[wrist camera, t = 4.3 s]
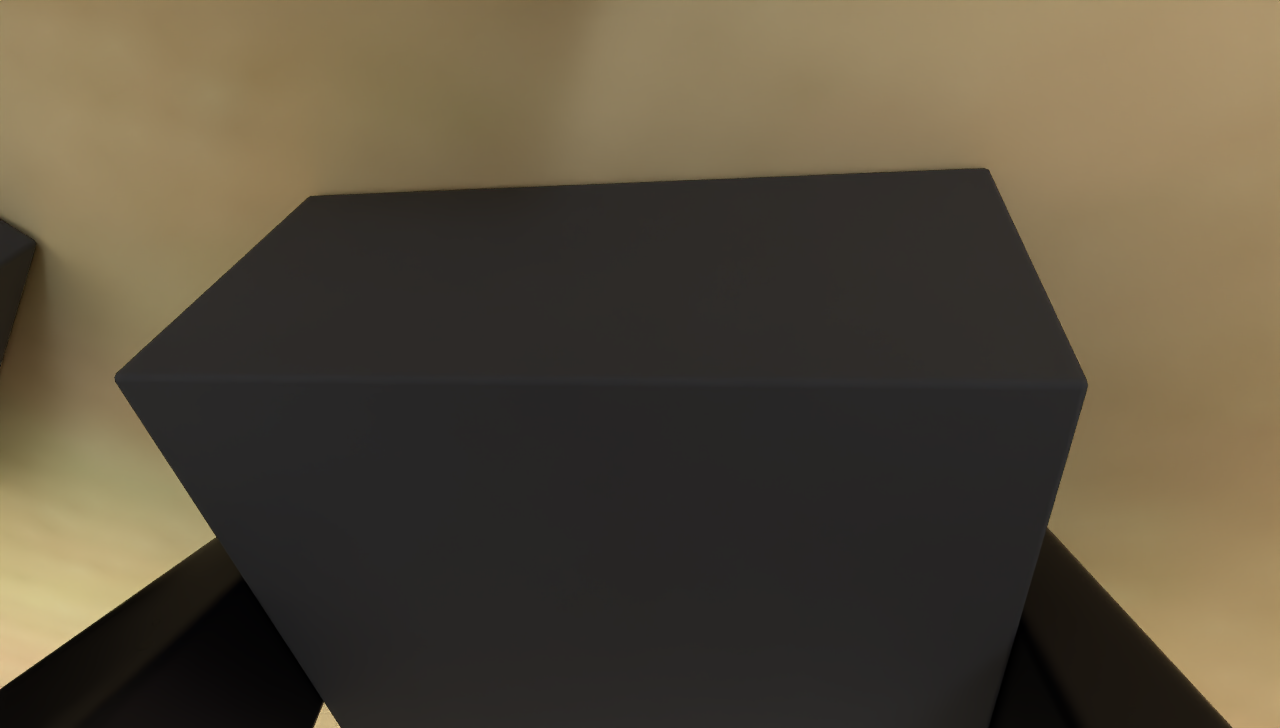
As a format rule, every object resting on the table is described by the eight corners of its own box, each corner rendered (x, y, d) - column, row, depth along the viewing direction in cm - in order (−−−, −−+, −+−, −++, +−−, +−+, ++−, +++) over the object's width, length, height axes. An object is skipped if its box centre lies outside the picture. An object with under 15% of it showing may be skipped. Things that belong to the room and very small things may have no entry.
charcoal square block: (990, 165, 7) (1093, 383, 4) (916, 619, 11) (951, 863, 8) (307, 193, 8) (107, 377, 6) (464, 591, 12) (383, 798, 10)
